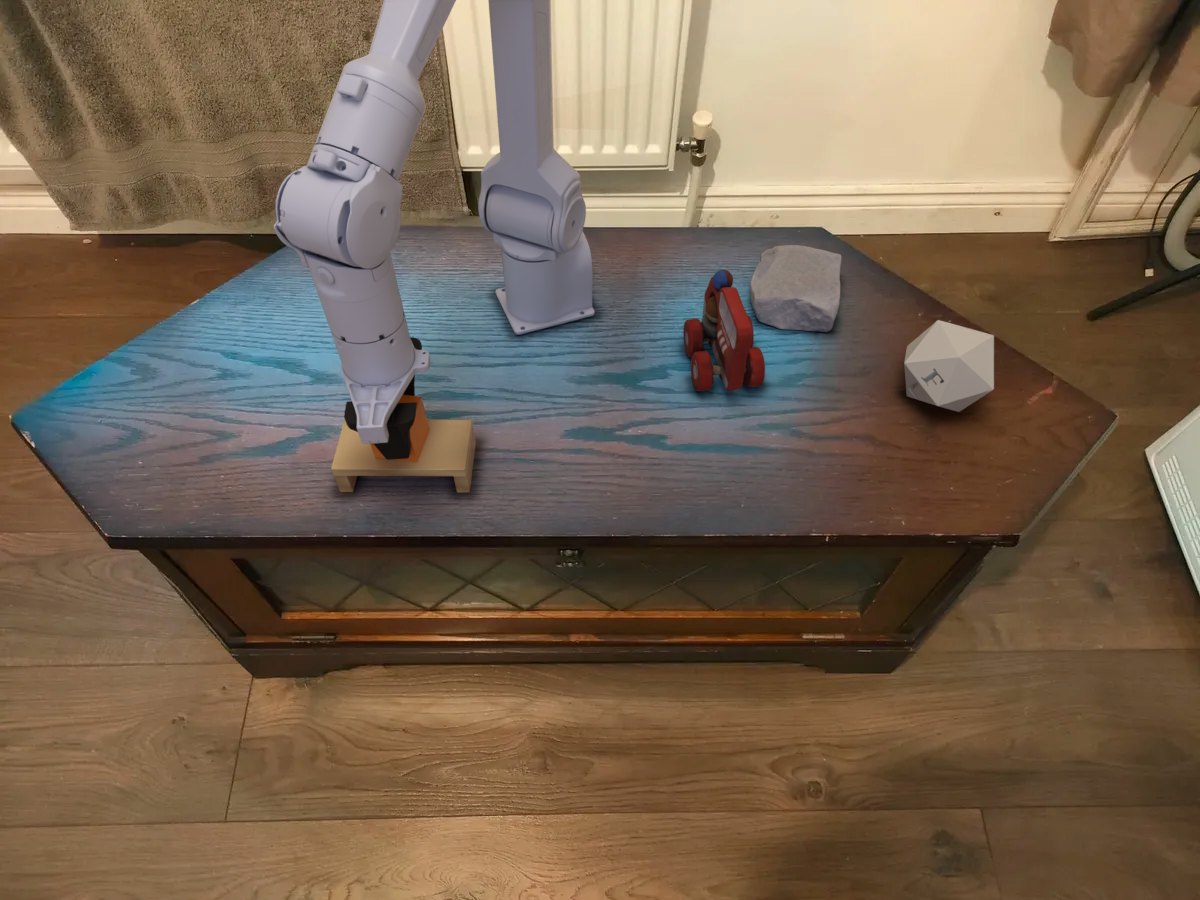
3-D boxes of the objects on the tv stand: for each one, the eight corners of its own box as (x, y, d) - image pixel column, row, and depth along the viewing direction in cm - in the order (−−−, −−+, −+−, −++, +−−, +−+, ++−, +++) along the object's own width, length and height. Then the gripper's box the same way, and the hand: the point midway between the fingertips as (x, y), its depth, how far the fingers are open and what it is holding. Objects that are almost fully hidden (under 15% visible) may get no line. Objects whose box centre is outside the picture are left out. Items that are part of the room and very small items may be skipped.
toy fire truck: (738, 324, 87) (753, 246, 79) (765, 404, 79) (785, 328, 71) (677, 328, 87) (686, 250, 79) (698, 409, 79) (710, 333, 71)
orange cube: (388, 424, 73) (378, 391, 69) (429, 429, 72) (421, 396, 69) (374, 457, 70) (363, 424, 67) (417, 462, 70) (408, 430, 66)
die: (878, 368, 84) (889, 349, 74) (951, 318, 83) (972, 293, 73) (927, 432, 82) (946, 421, 73) (1002, 382, 81) (1031, 365, 71)
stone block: (748, 336, 88) (839, 335, 86) (746, 302, 85) (841, 300, 82) (756, 275, 96) (840, 273, 93) (754, 242, 93) (841, 238, 90)
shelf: (476, 443, 76) (472, 419, 73) (469, 492, 72) (465, 469, 69) (353, 442, 76) (344, 418, 73) (340, 492, 72) (330, 469, 69)
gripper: (413, 383, 55) (440, 496, 66) (425, 258, 64) (448, 374, 75) (312, 388, 55) (356, 501, 65) (338, 262, 64) (373, 378, 74)
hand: (400, 434), depth 70 cm, fingers closed on orange cube, 4 cm apart
